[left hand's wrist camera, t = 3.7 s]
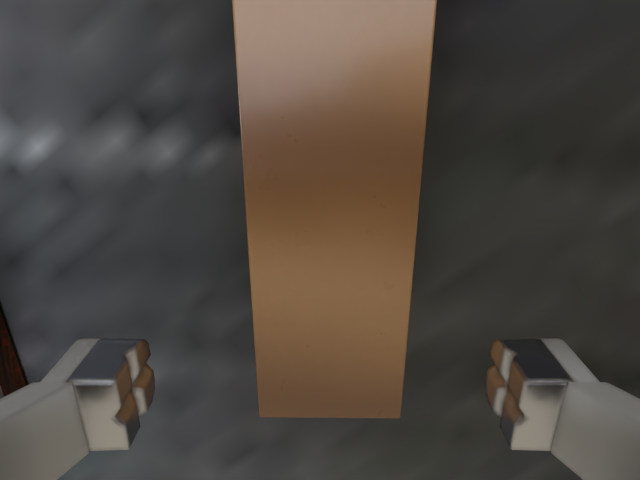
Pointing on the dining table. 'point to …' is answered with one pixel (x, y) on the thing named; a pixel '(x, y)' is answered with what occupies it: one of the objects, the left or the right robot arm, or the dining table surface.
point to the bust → (8, 364)
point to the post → (332, 196)
